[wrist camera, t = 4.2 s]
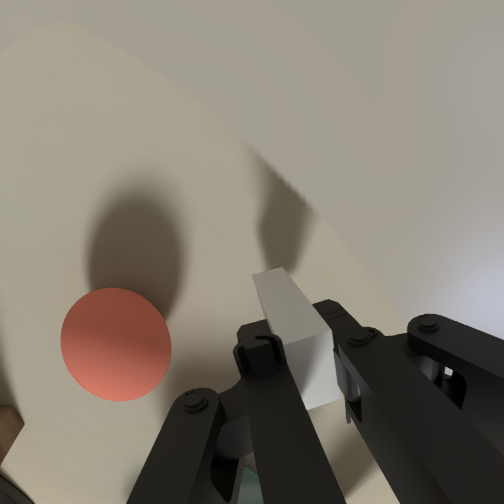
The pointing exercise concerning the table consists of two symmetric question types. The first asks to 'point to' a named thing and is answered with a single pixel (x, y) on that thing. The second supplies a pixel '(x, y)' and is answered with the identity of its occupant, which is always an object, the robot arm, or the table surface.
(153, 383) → the ball
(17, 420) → the bridge
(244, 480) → the flower pot
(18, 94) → the table surface
